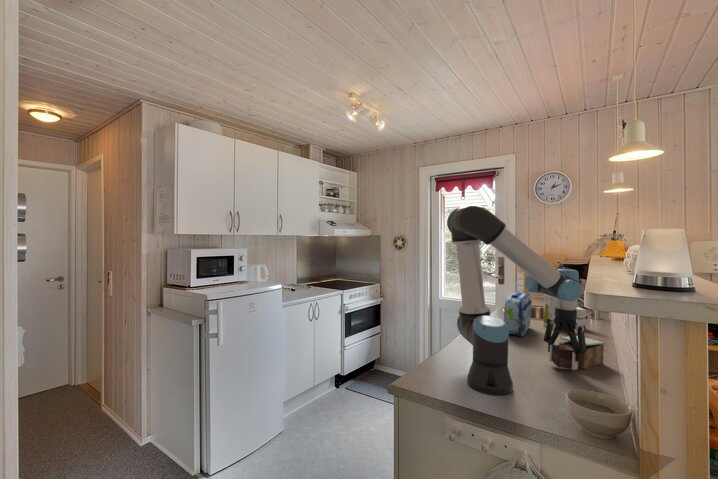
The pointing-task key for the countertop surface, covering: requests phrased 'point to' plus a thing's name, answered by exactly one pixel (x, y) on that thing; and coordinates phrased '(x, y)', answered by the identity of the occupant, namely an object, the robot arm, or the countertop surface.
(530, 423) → the countertop surface
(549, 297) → the juice carton
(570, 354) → the box
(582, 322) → the ink box
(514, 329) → the lunch box
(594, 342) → the lid
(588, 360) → the crate
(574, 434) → the countertop surface
